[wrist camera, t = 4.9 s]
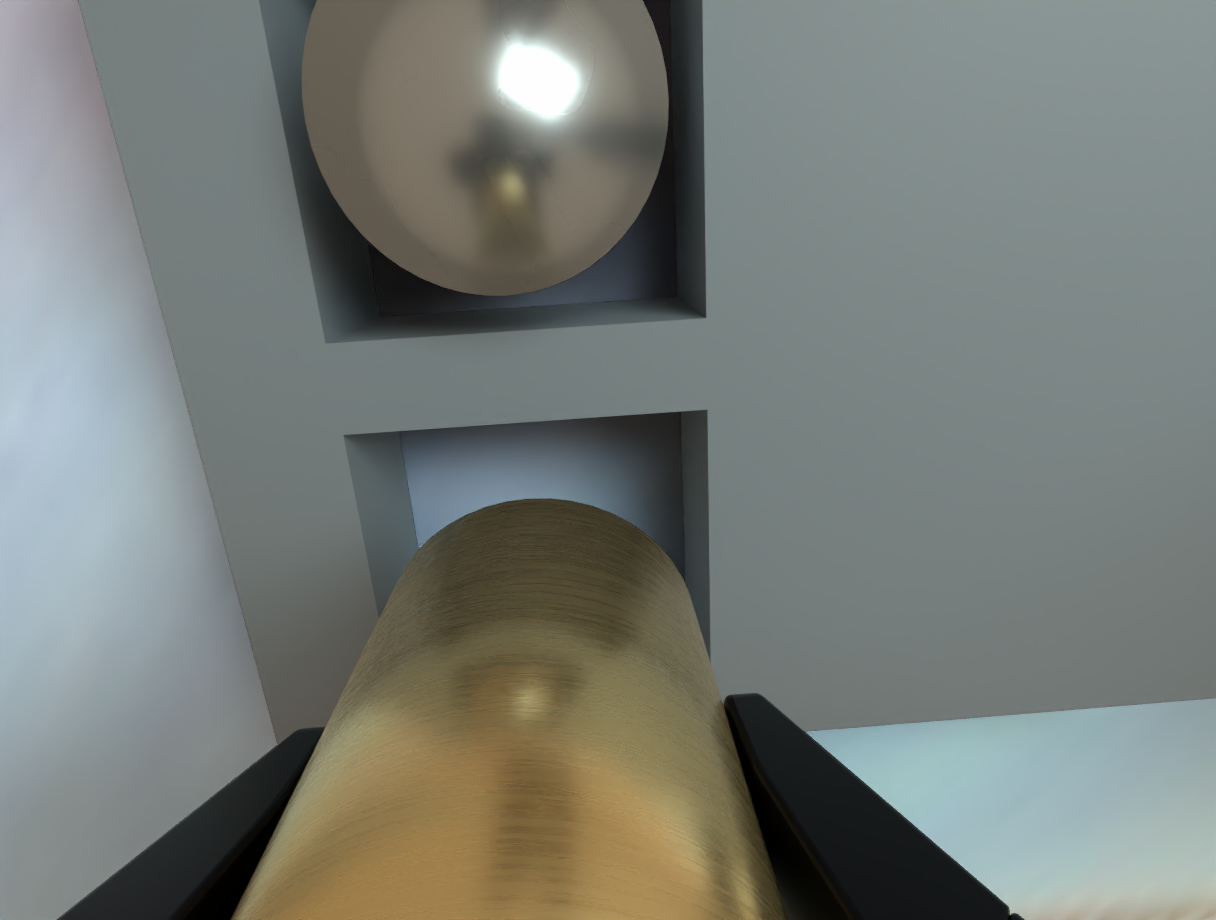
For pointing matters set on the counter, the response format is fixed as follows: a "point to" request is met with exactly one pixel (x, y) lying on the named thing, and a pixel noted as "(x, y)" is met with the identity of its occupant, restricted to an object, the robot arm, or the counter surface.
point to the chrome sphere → (487, 131)
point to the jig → (754, 347)
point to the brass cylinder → (525, 744)
